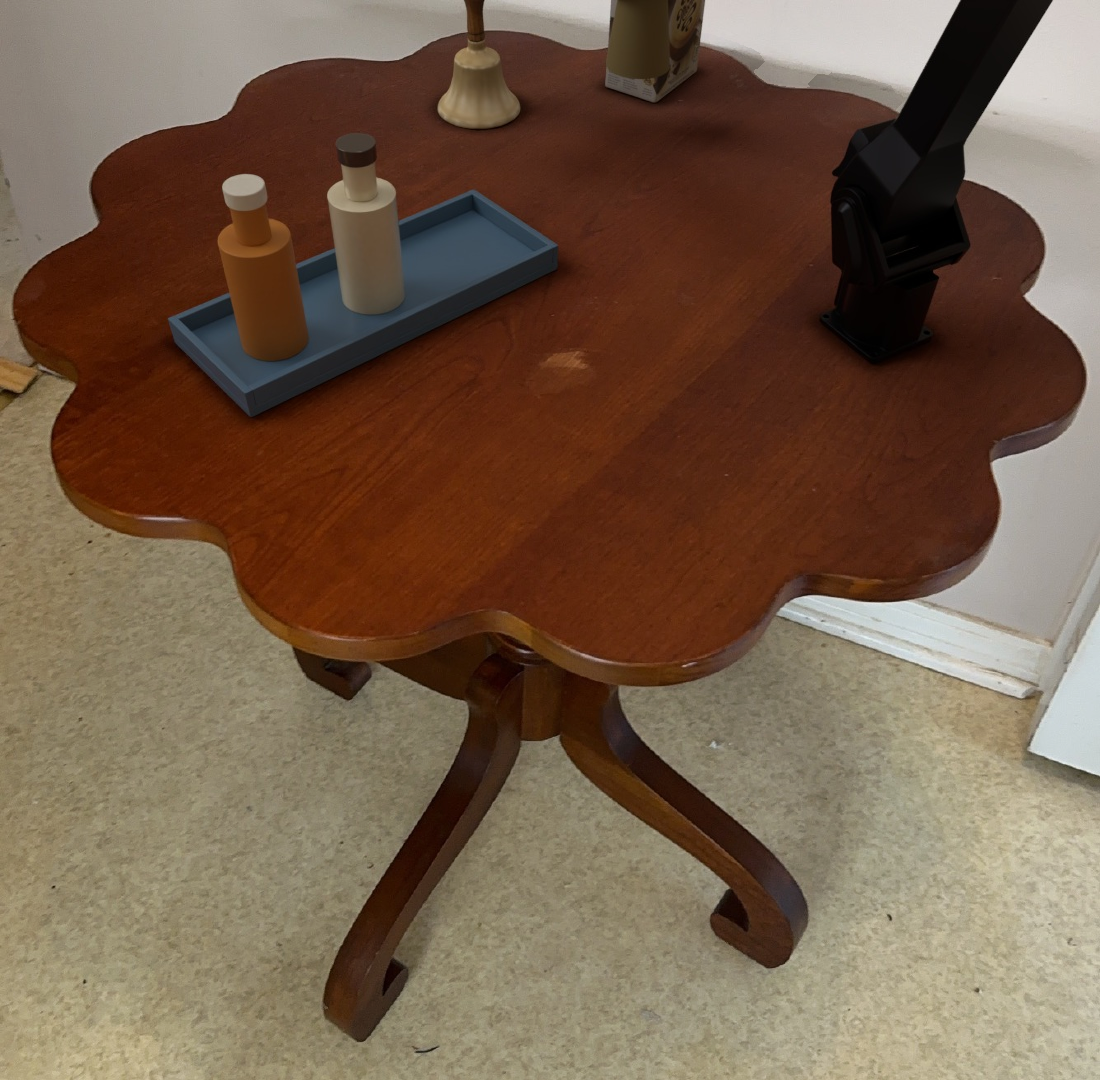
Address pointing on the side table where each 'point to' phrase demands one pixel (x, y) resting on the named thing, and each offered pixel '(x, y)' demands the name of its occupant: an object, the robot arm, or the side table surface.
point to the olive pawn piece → (639, 39)
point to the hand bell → (478, 82)
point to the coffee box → (683, 52)
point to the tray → (352, 338)
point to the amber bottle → (261, 274)
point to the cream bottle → (365, 230)
